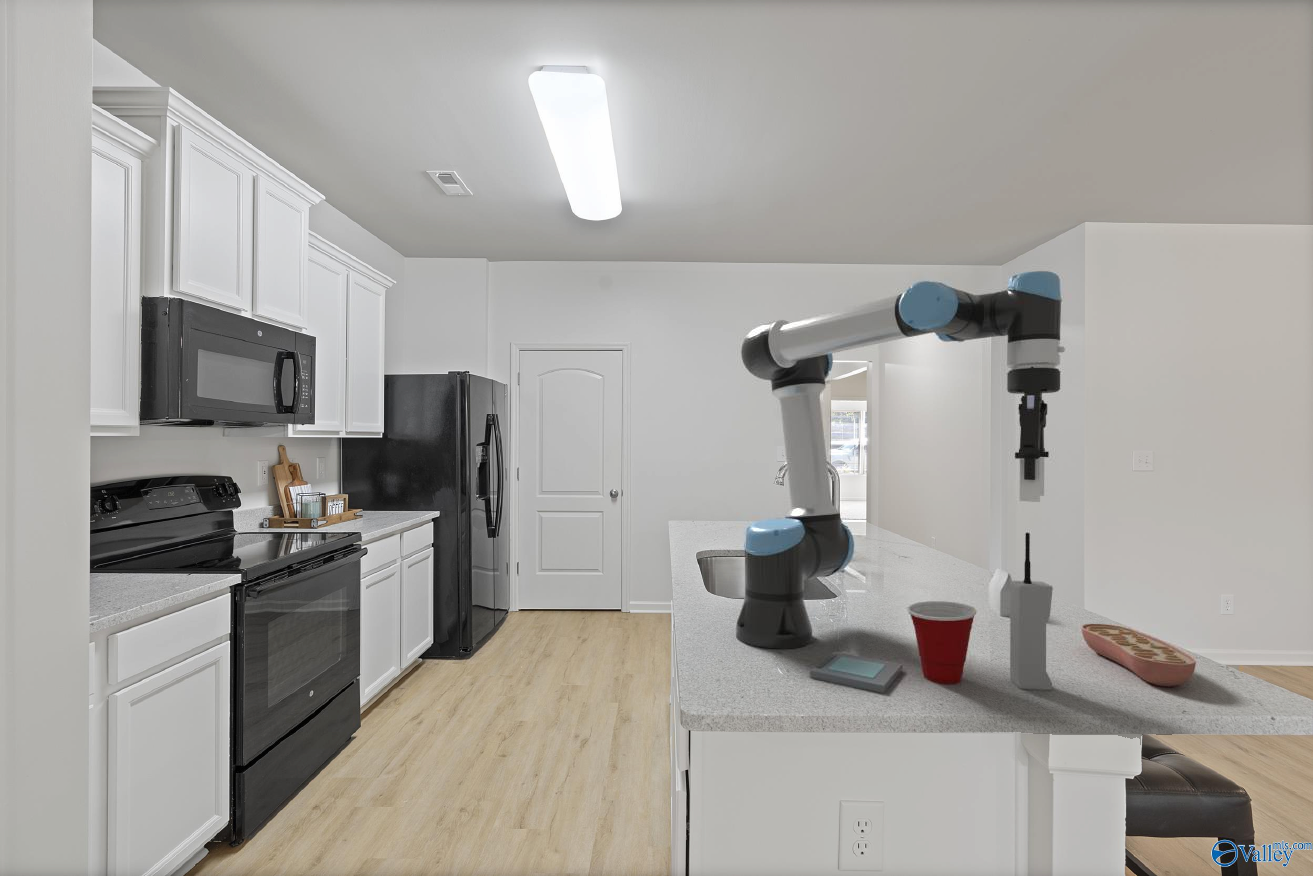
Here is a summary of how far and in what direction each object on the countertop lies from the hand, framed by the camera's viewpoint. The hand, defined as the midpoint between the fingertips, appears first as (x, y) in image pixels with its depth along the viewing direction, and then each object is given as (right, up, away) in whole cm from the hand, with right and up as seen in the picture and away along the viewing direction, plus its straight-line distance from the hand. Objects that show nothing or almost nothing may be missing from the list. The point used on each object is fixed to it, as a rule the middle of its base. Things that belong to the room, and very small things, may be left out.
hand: (1032, 498), depth 106 cm
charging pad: (-27, -30, +4) cm, 41 cm away
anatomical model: (+23, -31, +8) cm, 39 cm away
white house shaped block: (+19, -31, +44) cm, 57 cm away
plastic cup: (-14, -31, +3) cm, 34 cm away
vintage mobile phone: (-1, -31, -1) cm, 31 cm away
